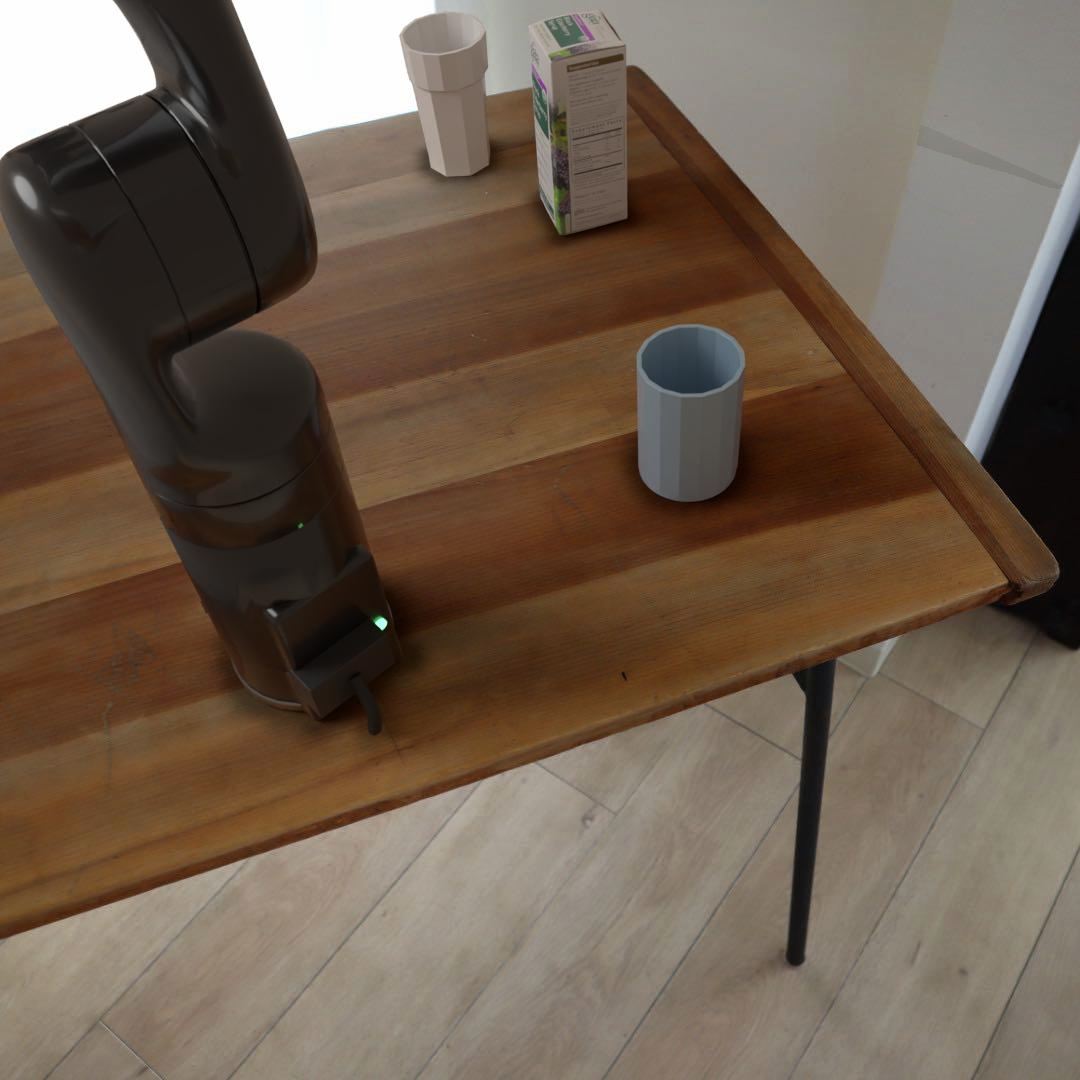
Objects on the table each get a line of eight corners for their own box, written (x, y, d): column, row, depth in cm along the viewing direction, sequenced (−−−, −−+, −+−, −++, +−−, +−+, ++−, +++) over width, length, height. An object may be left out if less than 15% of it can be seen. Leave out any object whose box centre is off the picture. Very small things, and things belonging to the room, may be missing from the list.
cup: (411, 149, 100) (389, 24, 92) (485, 129, 101) (469, 3, 93) (435, 190, 96) (413, 63, 88) (510, 169, 97) (497, 41, 89)
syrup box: (538, 198, 94) (522, 22, 83) (607, 180, 95) (601, 4, 84) (560, 238, 91) (546, 60, 80) (632, 219, 92) (629, 41, 80)
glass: (757, 464, 74) (767, 357, 68) (689, 518, 72) (693, 413, 65) (685, 416, 78) (688, 309, 71) (618, 466, 75) (614, 361, 68)
